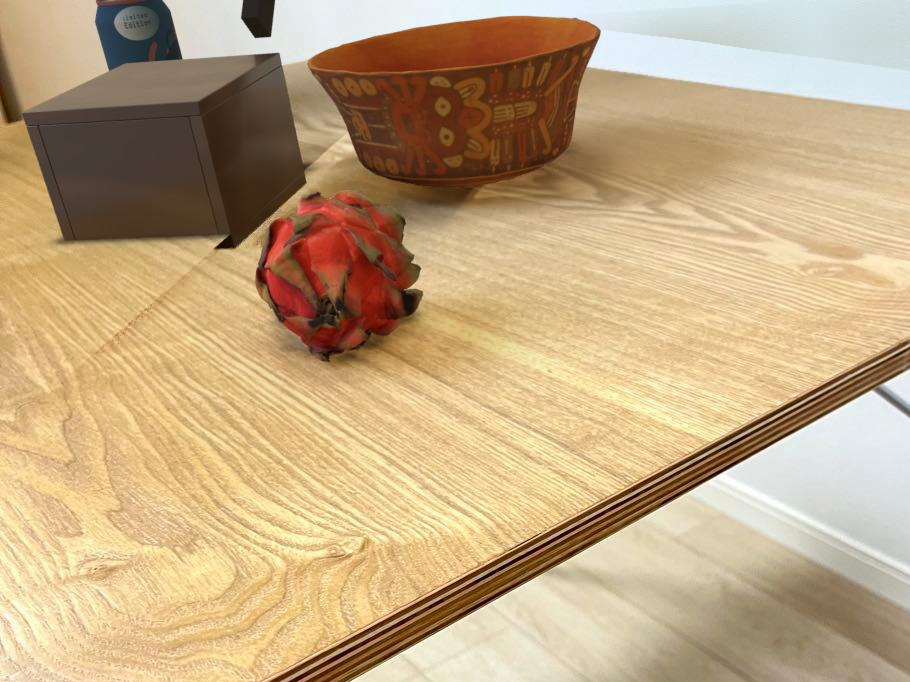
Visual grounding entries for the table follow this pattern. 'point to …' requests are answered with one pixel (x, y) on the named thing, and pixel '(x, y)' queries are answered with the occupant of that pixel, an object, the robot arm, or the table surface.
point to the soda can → (136, 32)
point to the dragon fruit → (338, 271)
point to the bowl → (460, 97)
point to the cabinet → (170, 149)
